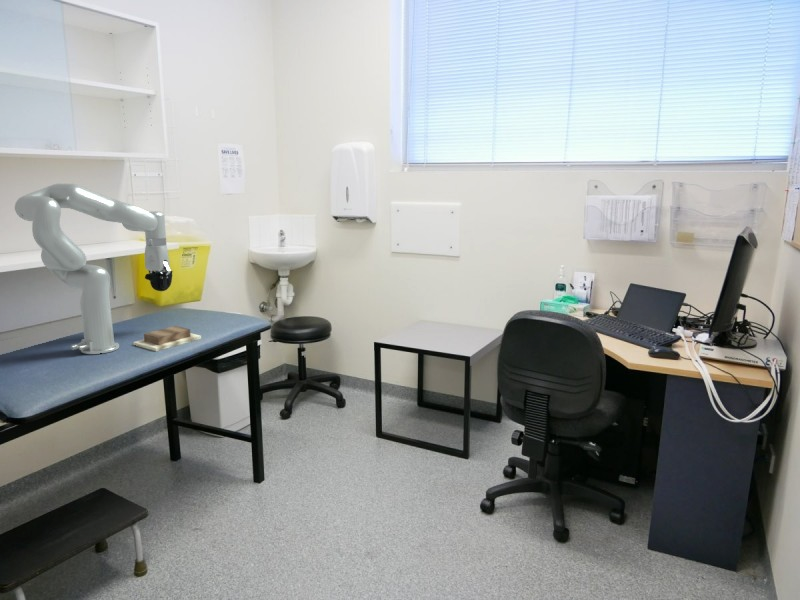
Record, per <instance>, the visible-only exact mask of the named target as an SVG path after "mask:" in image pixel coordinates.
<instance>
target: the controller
mask: <svg viewBox="0 0 800 600" xmlns="http://www.w3.org/2000/svg"><path fill="white" fill-rule="evenodd" d="M161 271H163V270H161ZM163 273H164V272H162V274H163ZM173 273H174V271H173V270H171V272H170V273H169V274H168V278H167V285H168V287H167V288H162V289H161V288H160V284H159V279H160V275H159V272H155V273H149V272H148V273H146V274H145V276H144V279H145V280H148V281H149V283H150V286H151V288H153V290H155V291H157V292H165V291H168V289H169V288H170V287H171V284H172V281H173V280H172V279H173Z"/></svg>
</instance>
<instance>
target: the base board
mask: <svg viewBox="0 0 800 600" xmlns="http://www.w3.org/2000/svg"><path fill="white" fill-rule="evenodd" d="M201 339H202V335H200V334H195V333H192V332H191V329H190V328H186V327H182V326H178V325H173V326H169V327H165V328H162V329H157V330H152V331H150V332H145V333H143V339H139V340H136V341H133V343H132V344H133V346H135V345H136V346H135V347H140V348H143V349H146V350H149V351H153V352H159V351H163V350H165V349H170V348H173V347H177V346H179V345H185V344H187V343H190V342H191V343H192V342H194V341H197V340H201Z"/></svg>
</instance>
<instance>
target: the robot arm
mask: <svg viewBox="0 0 800 600" xmlns="http://www.w3.org/2000/svg"><path fill="white" fill-rule="evenodd" d="M62 209H71V210H73V211H76V212H79V213H83V214H84V215H87V216H91V217H93V218H96V219H98V220H101V221H106V222H112V223H119V224H122V226H123V228H125V229H126V230H128V231H130V232H131V231H132V232H143V233H144V235H145V236H144V237H145V247H144V268H145V269H146V270H147V271H148V274H149V273H155V272H159V275H160V279H159V284H160V288H161V289H162V288H167V287H168V285H167V278H168V274H169V273H170V272H171V271H172V270H171V269H170V265H171V264H170V257H169V251H168V248H167V247H168V246H167V235H166V234H167V233H166V220H165V214H164V212H163V211H152V210H151V211H148V210H146V209H143V208H141V207H139V206H136V205H132V204H130V203H127V202H124V201H120V200H117V199H115V198H111V197H108V196H106V195H103V194H100V193H98V192H96V191H93V190H91V189H88V188H86V187H84V186H82V185H79V184H75V183H55V184H51V185H49V186H46V187H43V188H40V189H38V190H34V191H33V192H29V193H27V194H25V195H22V196H21V197H19V198H18V199H17V200H16V202H15V204H14V212H15V214H16V215H17V217H19V218H20V219H23V220H24V221H27V222H32V225H31V227H32V236H33V239H34V242H35V244H36V245H38V246H39V247H40V248H41V249H42V250H41V252H40V257H41V258H40V259H41V261H42V263H43V265H44V266H45V267H46V268H47V269H48V270H49V271H50V272H51V273H52V274H53V275H54V276H56V278H58V279H59V280H60V281H61V282H62V283H63V284H64V285H66V286H67V287H69V288H72V289H74V290H75V289H76V290H80V291H81V296H80V301H79V302H80V304H79V307H80V314H81V321H82V330H83V338H82V339H81V341H80V342H79V343H74V344H71V345H70V349H71V350H72V351H75V350H79V351H80V352H81V353H82V354H85V355H100V353H102V354H106V353H111V352H115V351H116V350H118V349H119V348H120V343H118V342H115V337H114V329H113V320H112V318H113V317H112V310H111V300H110V289H111V276H110V273H109V272H108V270H107V269H105V268H104V267H102V266H101V265H100V266H99V265H95V264H87V257H86V254H85V252H84V251H83V250H82V248H80V247H79V246H78V245H77V244H76V243H75V242H74V241H73V240H72V239H71V238H70V237H69V236H68V235H66V234H65V232H64V231H63V230H62V227H61V225H60V221H61V216H62V215H61V213H62V211H61V210H62ZM161 270H163V271H161ZM162 272H164V273H163V274H162Z"/></svg>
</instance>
